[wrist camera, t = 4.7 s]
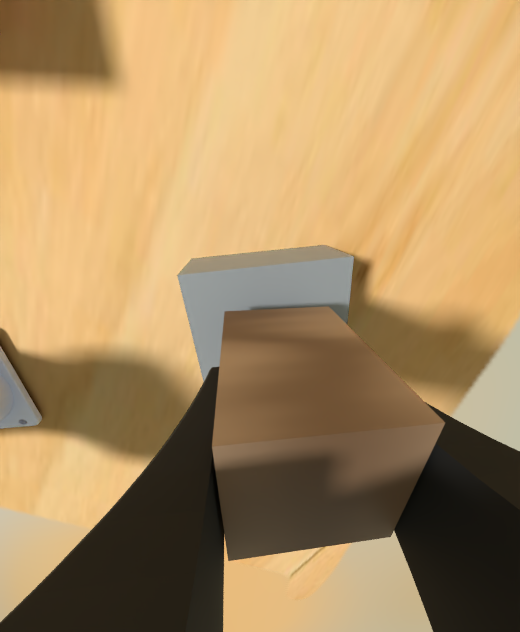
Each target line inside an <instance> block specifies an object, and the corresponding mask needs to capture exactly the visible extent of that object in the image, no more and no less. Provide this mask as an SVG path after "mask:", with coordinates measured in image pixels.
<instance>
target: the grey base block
mask: <svg viewBox="0 0 520 632" xmlns="http://www.w3.org/2000/svg"><path fill="white" fill-rule="evenodd" d="M353 260H354V256H352V255H349V254H346V253H344V252H341V251H339V250H336V249H334V248H331V247H329V246H326V245H320V246H310V247H300V248H290V249H281V250H271V251H261V252H251V253H242V254H232V255H222V256H213V257H203V258H193V259H191V260H190V261H189V262H188V264H187V265H186V266H185V267H184V268H183V269H182V271H181V272H180V273H179V274H178V275H177V276H178V280H179V284H180V288H181V292H182V296H183V300H184V304H185V308H186V312H187V316H188V320H189V324H190V328H191V332H192V336H193V340H194V344H195V349H196V353H197V357H198V361H199V365H200V369H201V373H202V377H203V381H205V379H206V377H207V375H208V372H209V370H210V369H211V368H212V367H219V366H220V355H221V344H222V333H223V323H224V312H225V311H242V310H263V309H284V308H305V307H327V306H329V307H330V308H331V309H332V310H333V311H334V312H335V313H336V314H337V315H338V316H339V317H340V318H341V319H342V320H343V321H344V322H345V323H346V324H347V322H348V312H349V302H350V291H351V281H352V271H353Z"/></svg>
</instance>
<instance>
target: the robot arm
mask: <svg viewBox="0 0 520 632" xmlns="http://www.w3.org/2000/svg"><path fill="white" fill-rule="evenodd" d="M218 376H219V367H212V368H211V369H210V370H209V372H208V375H207V377H206V379H205V381H204V383H203V385H202V387H201V388H200V390H199V392H198V394H197V396H196V397H195V399H194V401H193V402H192V404H191V406H190V407H189V409H188V410H187V412H186V414H185V415H184V417H183V418H182V420H181V421H180V423H179V424H178V425H177V427H176V428H175V430H174V431H173V433H172V434H171V436H170V437H169V439H168V440H167V441H166V443H165V444H164V445H163V447H162V448H161V449H160V451H159V452H158V453H157V455H156V456H155V457H154V458H153V460H152V461H151V462H150V464H149V465H148V466H147V467H146V469H145V470H144V471H143V472H142V473H141V475H140V476H139V477H138V478H137V479H136V481H135V482H134V483H133V484H132V485H131V486H130V488H129V489H128V490H127V491H126V492H125V494H124V495H123V496H122V497H121V498H120V499H119V500H118V502H117V503H116V504H115V505H114V506H113V507H112V508H111V510H110V511H109V512H108V513H107V514H106V515H105V516H104V517H103V518H102V519H101V520H100V522H99V523H98V524H97V525H96V526H95V527H94V528H93V529H92V530H91V531H90V532H89V533H88V534H87V535H86V536H85V537H84V539H82V541H81V542H80V543H79V544H78V545H77V546H76V547H75V548H74V549H73V550H72V551H71V552H70V553H69V554H68V555H67V556H66V557H65V558H64V560H63V561H62V562H61V563H60V564H59V565H58V566H57V567H56V568H55V569H54V570H53V571H52V572H51V573H50V574H49V575H48V576H47V577H46V578H45V579H44V580H43V581H42V582H41V583H40V584H39V585H38V586H37V587H36V588H35V589H34V590H33V591H32V592H31V593H30V594H29V595H28V596H27V597H26V598H25V599H24V600H23V601H22V602H21V603H20V604H19V605H18V606H17V607H16V608H15V609H14V610H13V611H12V612H10V613H9V614H8V615H7V616H6V617H5V618H4V619H3V620H2V621H1V622H0V632H223V584H224V582H223V581H224V527H223V520H222V513H221V506H220V499H219V492H218V485H217V478H216V471H215V464H214V457H213V450H212V441H213V430H214V419H215V409H216V398H217V387H218ZM425 403H426V402H425ZM426 404H427V403H426ZM427 405H428V406H429V407H430V408H431V409H432V410H433V411H434V412H435V413H436V414H437V415H438V416H439V417H440V418H441V419H442V420H443V421H444V422H445V425H444V427H443V429H442V431H441V433H440V435H439V437H438V439H437V441H436V443H435V445H434V448H433V450H432V452H431V454H430V456H429V458H428V460H427V462H426V464H425V466H424V468H423V470H422V473H421V475H420V477H419V479H418V481H417V483H416V485H415V487H414V489H413V491H412V493H411V495H410V497H409V500H408V502H407V504H406V506H405V508H404V510H403V512H402V514H401V516H400V518H399V520H398V522H397V525H396V527H395V529H394V531H395V533H396V536H397V538H398V541H399V543H400V546H401V548H402V551H403V553H404V556H405V558H406V561H407V563H408V566H409V568H410V571H411V573H412V576H413V578H414V581H415V584H416V587H417V589H418V592H419V595H420V597H421V600H422V602H423V605H424V608H425V610H426V613H427V616H428V618H429V621H430V624H431V626H432V629H433V632H520V451H517V450H515V449H513V448H511V447H509V446H507V445H505V444H502V443H500V442H498V441H496V440H494V439H492V438H490V437H488V436H486V435H484V434H482V433H480V432H478V431H476V430H475V429H473V428H470V427H469V426H467V425H465V424H463V423H461V422H459V421H457V420H455V419H454V418H452V417H450V416H448V415H446V414H445V413H443V412H441V411H439V410H438V409H436V408H434V407H432V406H431V405H429V404H427ZM41 420H42V416H41V415H40V413H39V411H38V410H37V408H36V406H35V404H34V403H33V401H32V399H31V398H30V396H29V394H28V392H27V391H26V389H25V387H24V386H23V384H22V382H21V380H20V379H19V377H18V375H17V374H16V372H15V370H14V368H13V367H12V365H11V363H10V362H9V360H8V358H7V356H6V355H5V353H4V351H3V350H2V348H1V346H0V428H12V427H24V426H34V425H37V424H39V423H40V421H41Z"/></svg>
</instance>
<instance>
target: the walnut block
mask: <svg viewBox="0 0 520 632" xmlns="http://www.w3.org/2000/svg"><path fill="white" fill-rule="evenodd" d="M444 425H445V422H444V421H443V420H442V419H441V418H440V417H439V416H438V415H437V414H436V413H435V412H434V411H433V410H432V409H431V408H430V407H429V406H428V405H427V404H426V403H425V402H424V401H423V400H422V399H421V398H420V397H419V396H418V395H417V394H416V393H415V392H414V391H413V390H412V389H411V388H410V387H409V386H408V385H407V384H406V383H405V382H404V381H403V380H402V379H401V378H400V377H399V376H398V375H397V374H396V373H395V372H394V371H393V370H392V369H391V368H390V367H389V366H388V365H387V364H386V363H385V362H384V361H383V360H382V359H381V358H380V357H379V356H378V355H377V354H376V353H375V352H374V351H373V350H372V349H371V348H370V347H369V346H368V345H367V344H366V343H365V342H364V341H363V340H362V339H361V338H360V337H359V336H358V335H357V334H356V333H355V332H354V331H353V330H352V329H351V328H350V327H349V326H348V325H347V324H346V323H345V322H344V321H343V320H342V319H341V318H340V317H339V316H338V315H337V314H336V313H335V312H334V311H333V310H332V309H331V308H330V307H329V306H327V307H305V308H284V309H263V310H242V311H225V312H224V323H223V333H222V344H221V355H220V366H219V376H218V387H217V398H216V409H215V419H214V430H213V441H212V450H213V457H214V464H215V471H216V478H217V485H218V492H219V499H220V506H221V513H222V520H223V527H224V534H225V540H226V547H227V554H228V561H231V560H238V559H245V558H251V557H258V556H265V555H272V554H278V553H285V552H292V551H298V550H305V549H312V548H319V547H325V546H332V545H339V544H345V543H352V542H359V541H366V540H372V539H379V538H385V537H391V535H392V533H393V531H394V529H395V527H396V525H397V522H398V520H399V518H400V516H401V514H402V512H403V510H404V508H405V506H406V504H407V502H408V500H409V497H410V495H411V493H412V491H413V489H414V487H415V485H416V483H417V481H418V479H419V477H420V475H421V473H422V470H423V468H424V466H425V464H426V462H427V460H428V458H429V456H430V454H431V452H432V450H433V448H434V445H435V443H436V441H437V439H438V437H439V435H440V433H441V431H442V429H443V427H444Z"/></svg>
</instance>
